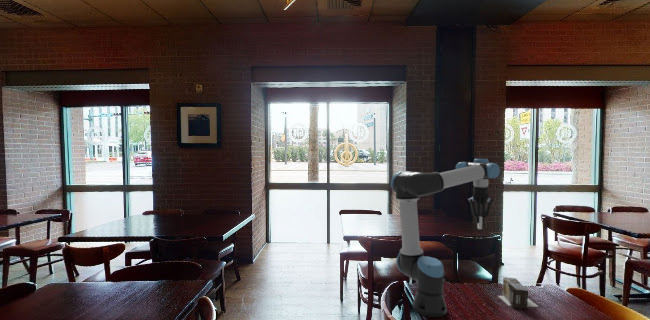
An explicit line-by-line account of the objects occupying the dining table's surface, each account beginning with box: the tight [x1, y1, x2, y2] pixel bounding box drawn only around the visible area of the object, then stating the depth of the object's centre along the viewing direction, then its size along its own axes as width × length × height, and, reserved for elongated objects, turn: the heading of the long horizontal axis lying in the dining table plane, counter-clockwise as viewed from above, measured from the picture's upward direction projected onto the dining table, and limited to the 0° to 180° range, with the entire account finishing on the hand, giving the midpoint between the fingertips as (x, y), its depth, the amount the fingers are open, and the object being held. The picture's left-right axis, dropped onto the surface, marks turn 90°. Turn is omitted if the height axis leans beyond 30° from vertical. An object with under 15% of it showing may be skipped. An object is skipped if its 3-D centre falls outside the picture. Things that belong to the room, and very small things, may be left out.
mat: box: [497, 295, 539, 308], centre depth 164 cm, size 14×11×1 cm
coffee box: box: [502, 276, 529, 310], centre depth 163 cm, size 9×6×16 cm
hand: (479, 228), depth 181 cm, fingers closed
